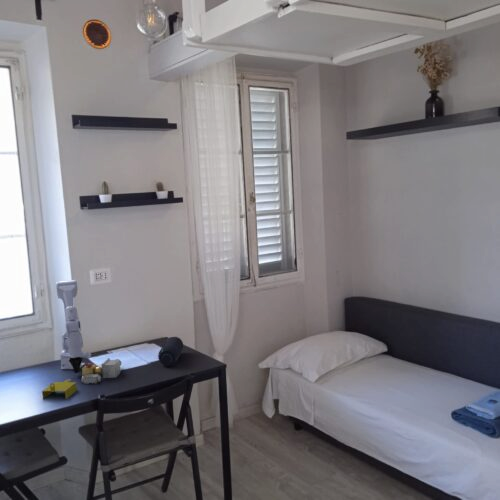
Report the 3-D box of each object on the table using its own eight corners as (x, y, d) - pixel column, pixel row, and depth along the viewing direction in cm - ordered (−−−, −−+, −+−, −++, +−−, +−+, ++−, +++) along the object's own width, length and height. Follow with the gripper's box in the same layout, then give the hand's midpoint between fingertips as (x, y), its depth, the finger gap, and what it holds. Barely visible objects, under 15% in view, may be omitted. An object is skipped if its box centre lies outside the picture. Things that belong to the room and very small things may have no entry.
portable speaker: (166, 353, 284) (165, 335, 282) (185, 352, 283) (183, 334, 282) (157, 369, 259) (155, 349, 258) (177, 368, 258) (176, 348, 257)
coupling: (102, 378, 249) (101, 364, 248) (113, 368, 262) (112, 355, 262) (115, 378, 248) (113, 364, 247) (124, 368, 262) (123, 354, 261)
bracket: (84, 371, 238) (69, 383, 223) (86, 387, 239) (71, 400, 224) (52, 371, 240) (35, 383, 226) (54, 387, 241) (36, 400, 226)
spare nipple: (81, 384, 243) (80, 377, 243) (84, 381, 246) (83, 374, 246) (99, 383, 243) (98, 376, 242) (101, 380, 246) (101, 373, 246)
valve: (82, 377, 252) (81, 365, 251) (87, 373, 256) (86, 362, 256) (101, 376, 251) (100, 365, 250) (105, 373, 256) (104, 362, 255)
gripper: (56, 347, 249) (59, 375, 251) (86, 347, 248) (88, 375, 249) (63, 343, 256) (65, 370, 258) (91, 342, 255) (94, 370, 256)
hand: (77, 372), depth 254 cm, fingers closed
